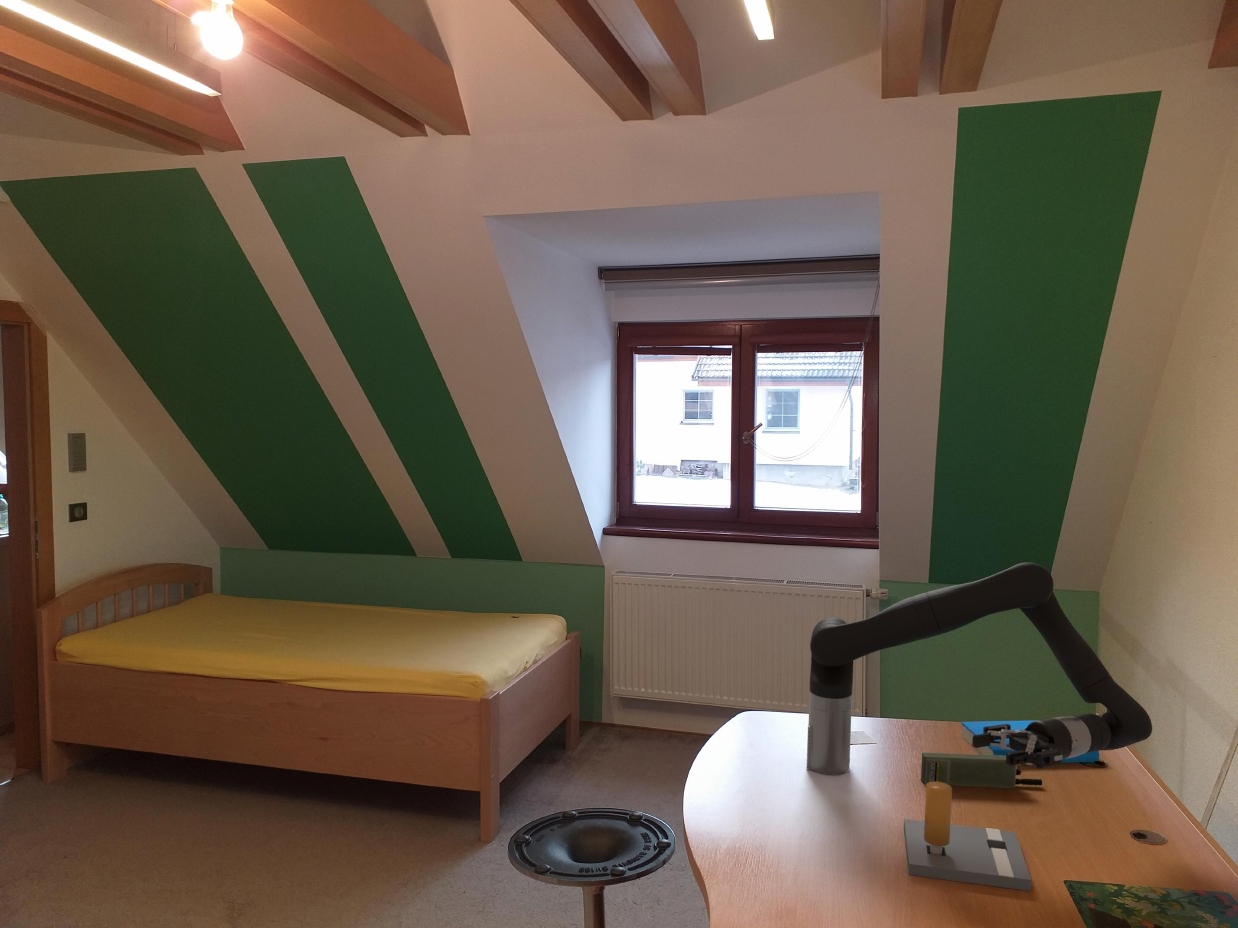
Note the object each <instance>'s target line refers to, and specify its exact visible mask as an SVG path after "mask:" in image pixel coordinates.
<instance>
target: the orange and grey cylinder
mask: <svg viewBox="0 0 1238 928" xmlns="http://www.w3.org/2000/svg"><path fill="white" fill-rule="evenodd" d="M952 794H953V788H952V785H948V784H946V783H942V782H929V783H927V784H925V802H924V803H925V804H924V821H925V822H924V840H925V841H926V842H927V843H929V844H931V845H930V854H933V855H941V856H942V846H946V845H948V844H949V842H950V824H951V818H952V817H951V815H952V796H953V795H952Z"/></svg>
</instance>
